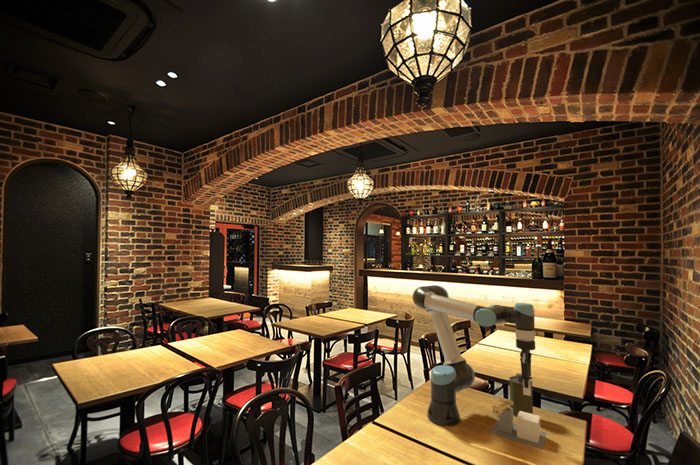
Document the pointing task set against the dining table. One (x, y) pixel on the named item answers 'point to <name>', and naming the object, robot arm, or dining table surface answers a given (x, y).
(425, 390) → the dining table surface
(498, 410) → the latch bar
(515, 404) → the canister
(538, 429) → the cover
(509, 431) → the latch base
